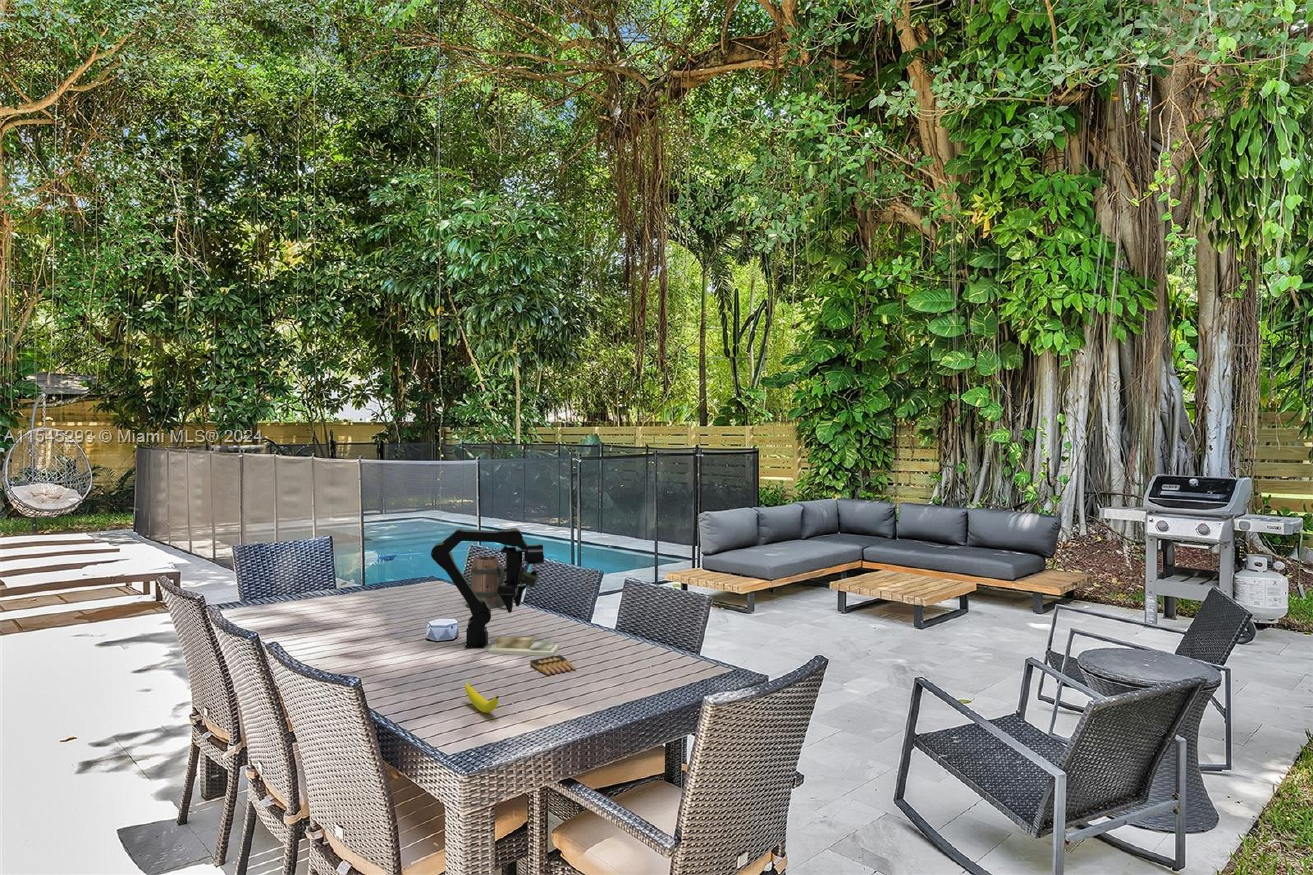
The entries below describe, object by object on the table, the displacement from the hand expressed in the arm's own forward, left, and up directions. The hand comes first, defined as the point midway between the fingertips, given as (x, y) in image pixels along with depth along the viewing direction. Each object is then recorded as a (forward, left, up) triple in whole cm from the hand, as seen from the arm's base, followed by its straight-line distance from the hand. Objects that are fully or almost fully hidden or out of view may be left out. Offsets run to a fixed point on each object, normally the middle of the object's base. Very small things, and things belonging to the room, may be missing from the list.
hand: (513, 609), depth 267 cm
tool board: (+6, -8, -12) cm, 16 cm away
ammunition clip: (+17, -21, -11) cm, 29 cm away
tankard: (-27, +53, -12) cm, 61 cm away
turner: (+6, -8, -11) cm, 15 cm away
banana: (+10, -62, -12) cm, 64 cm away
